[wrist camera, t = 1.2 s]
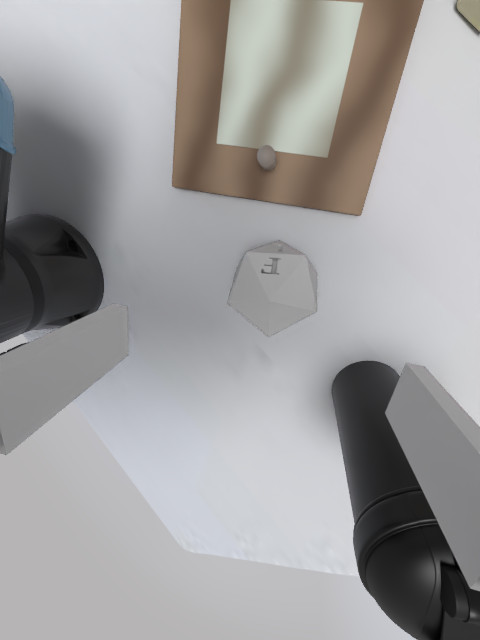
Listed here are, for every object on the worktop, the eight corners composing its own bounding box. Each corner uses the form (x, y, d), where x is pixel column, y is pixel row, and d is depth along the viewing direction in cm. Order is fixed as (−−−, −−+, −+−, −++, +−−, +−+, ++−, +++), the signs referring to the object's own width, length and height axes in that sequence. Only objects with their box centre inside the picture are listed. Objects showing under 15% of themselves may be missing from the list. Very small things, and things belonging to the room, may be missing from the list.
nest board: (176, 187, 30) (159, 182, 27) (190, -69, 23) (170, -127, 19) (358, 215, 28) (368, 214, 24) (437, -60, 21) (470, -124, 17)
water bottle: (322, 419, 37) (361, 682, 16) (328, 352, 34) (387, 573, 13) (403, 426, 35) (569, 736, 14) (417, 356, 32) (665, 625, 11)
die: (319, 240, 30) (330, 249, 20) (308, 317, 33) (314, 355, 24) (242, 236, 31) (221, 243, 22) (239, 310, 34) (219, 343, 25)
